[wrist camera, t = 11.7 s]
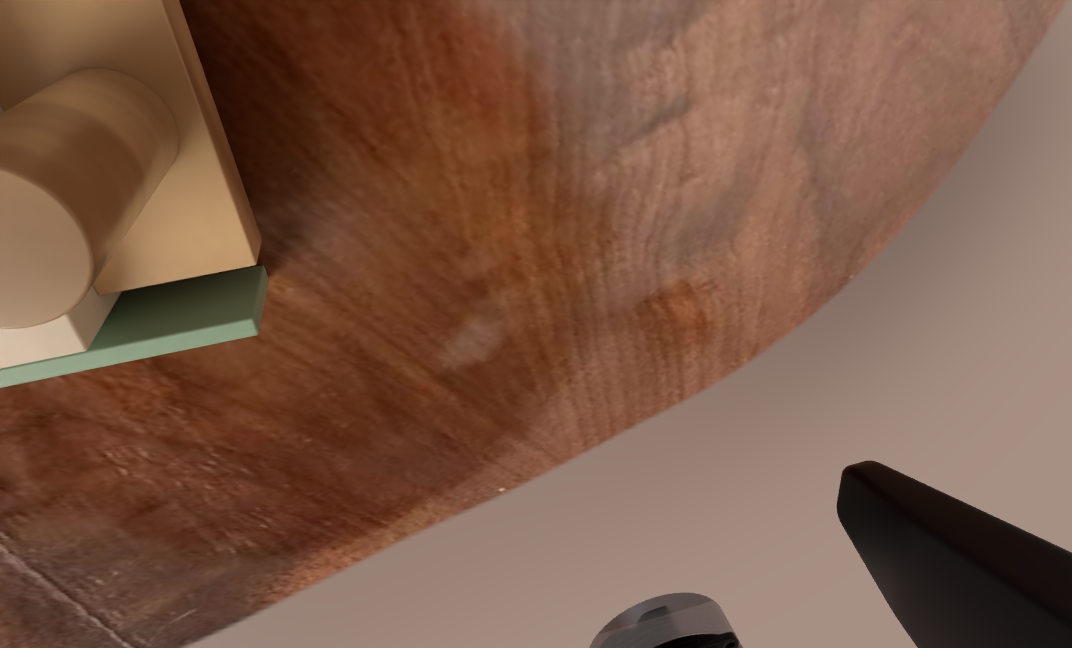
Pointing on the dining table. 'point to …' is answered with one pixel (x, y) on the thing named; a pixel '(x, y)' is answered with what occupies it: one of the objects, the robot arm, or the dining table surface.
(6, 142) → the stamp
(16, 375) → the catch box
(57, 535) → the dining table surface
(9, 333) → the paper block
